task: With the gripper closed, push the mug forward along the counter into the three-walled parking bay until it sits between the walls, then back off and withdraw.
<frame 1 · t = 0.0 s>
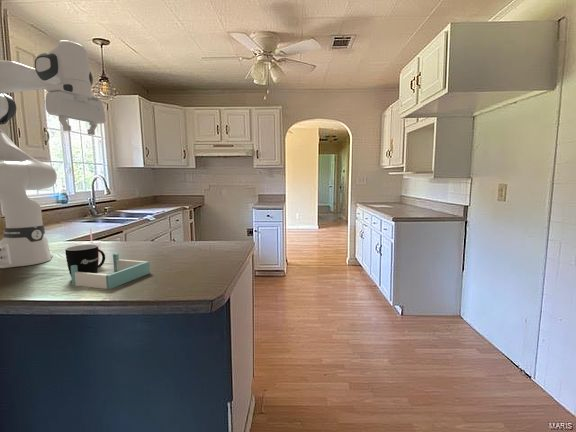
hand: (79, 133, 113), 48 cm above the table, fingers open, 8 cm apart
bay: (113, 278, 105), on the table
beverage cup: (93, 266, 121), on the table
mug: (89, 277, 107), on the table
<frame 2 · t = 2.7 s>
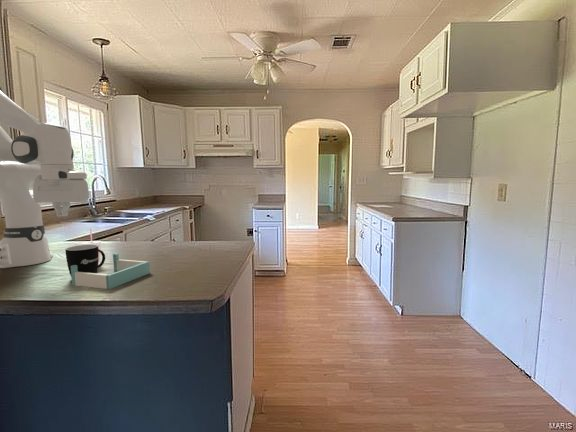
hand: (62, 216, 108), 20 cm above the table, fingers closed
nothing on the table moved.
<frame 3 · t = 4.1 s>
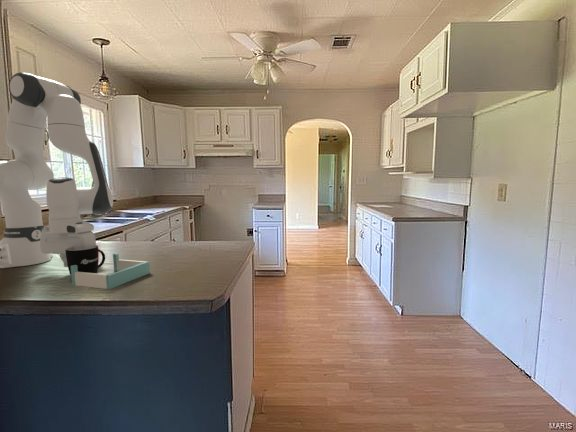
hand: (69, 266, 110), 2 cm above the table, fingers closed
nothing on the table moved.
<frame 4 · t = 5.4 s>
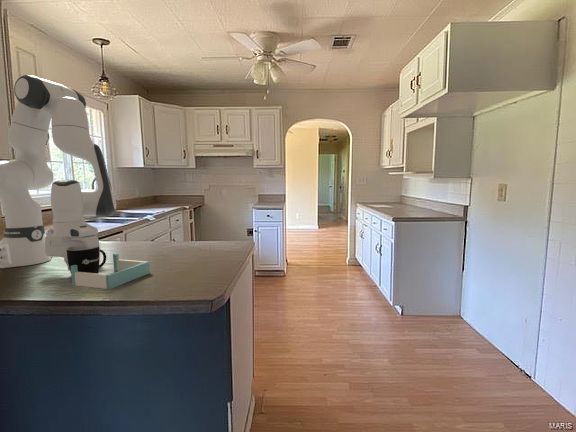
hand: (73, 270, 109), 2 cm above the table, fingers closed
mug: (90, 277, 107), on the table, touching gripper
everything else where it was.
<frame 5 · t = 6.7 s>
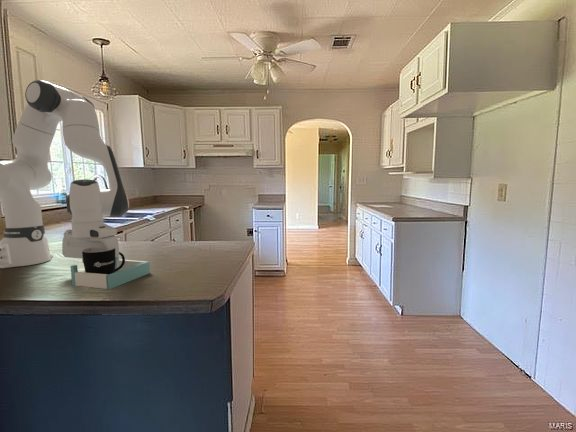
hand: (91, 271, 107), 2 cm above the table, fingers closed
mug: (106, 279, 104), on the table, touching gripper
everything else where it was.
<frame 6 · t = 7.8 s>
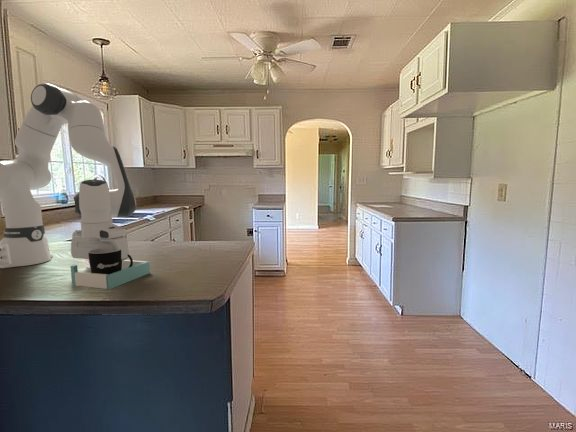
hand: (100, 272, 106), 2 cm above the table, fingers closed
mug: (113, 281, 102), on the table, touching gripper
everything else where it was.
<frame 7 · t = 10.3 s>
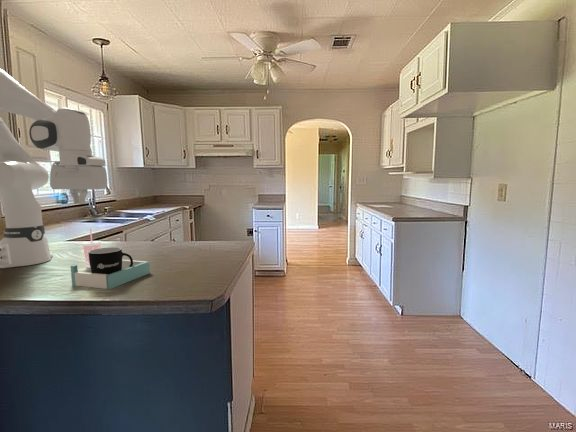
hand: (79, 203, 106), 24 cm above the table, fingers closed
mug: (113, 281, 102), on the table
everything else where it was.
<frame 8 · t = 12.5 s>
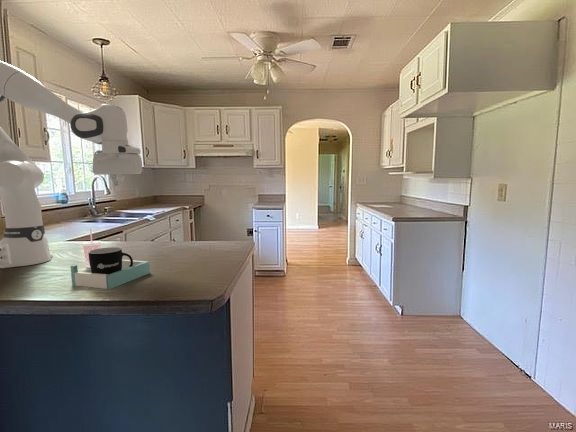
hand: (118, 186, 123), 29 cm above the table, fingers closed
nothing on the table moved.
at the end: mug inside the target area on the bay (2.4 cm from its centre), point 0.0 cm above the bay's base; mug tilted 0° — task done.
